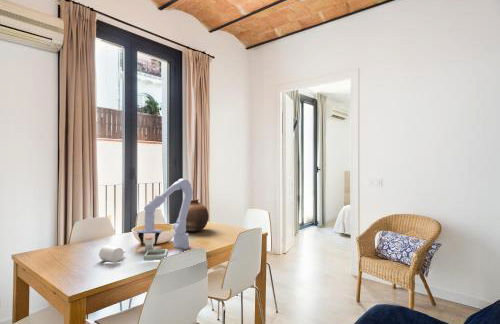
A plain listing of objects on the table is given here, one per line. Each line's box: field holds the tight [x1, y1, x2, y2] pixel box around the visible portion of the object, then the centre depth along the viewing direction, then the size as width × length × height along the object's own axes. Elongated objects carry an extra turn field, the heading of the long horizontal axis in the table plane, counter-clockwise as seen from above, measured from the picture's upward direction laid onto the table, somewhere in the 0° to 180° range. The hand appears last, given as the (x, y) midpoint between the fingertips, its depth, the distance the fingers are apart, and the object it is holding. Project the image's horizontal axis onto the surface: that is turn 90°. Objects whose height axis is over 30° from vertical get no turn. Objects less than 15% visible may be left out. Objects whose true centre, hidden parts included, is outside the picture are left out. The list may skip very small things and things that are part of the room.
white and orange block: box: [144, 236, 154, 250], centre depth 182 cm, size 4×4×7 cm
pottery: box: [178, 198, 210, 232], centre depth 234 cm, size 23×23×25 cm
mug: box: [98, 244, 126, 264], centre depth 164 cm, size 12×10×8 cm
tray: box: [143, 248, 169, 260], centre depth 171 cm, size 12×12×2 cm
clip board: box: [135, 245, 163, 253], centre depth 182 cm, size 14×10×4 cm
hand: (149, 245), depth 182 cm, fingers open, 7 cm apart
